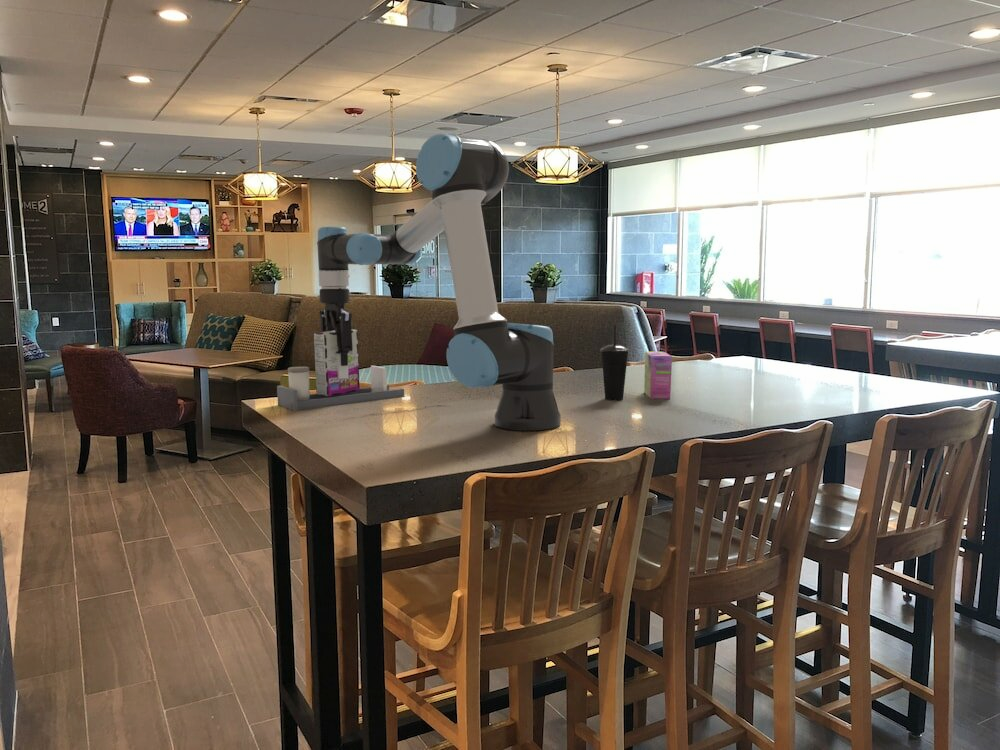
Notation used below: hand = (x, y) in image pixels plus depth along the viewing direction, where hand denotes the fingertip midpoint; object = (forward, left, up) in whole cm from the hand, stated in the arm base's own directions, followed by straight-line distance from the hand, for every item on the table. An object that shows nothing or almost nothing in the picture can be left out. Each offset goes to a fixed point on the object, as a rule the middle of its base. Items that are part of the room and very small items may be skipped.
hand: (337, 376), depth 207 cm
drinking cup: (-40, -62, -8) cm, 74 cm away
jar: (0, +11, -7) cm, 13 cm away
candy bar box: (0, 0, -5) cm, 5 cm away
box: (-44, -75, -8) cm, 87 cm away
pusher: (0, -13, -6) cm, 15 cm away
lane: (0, -1, -8) cm, 8 cm away
